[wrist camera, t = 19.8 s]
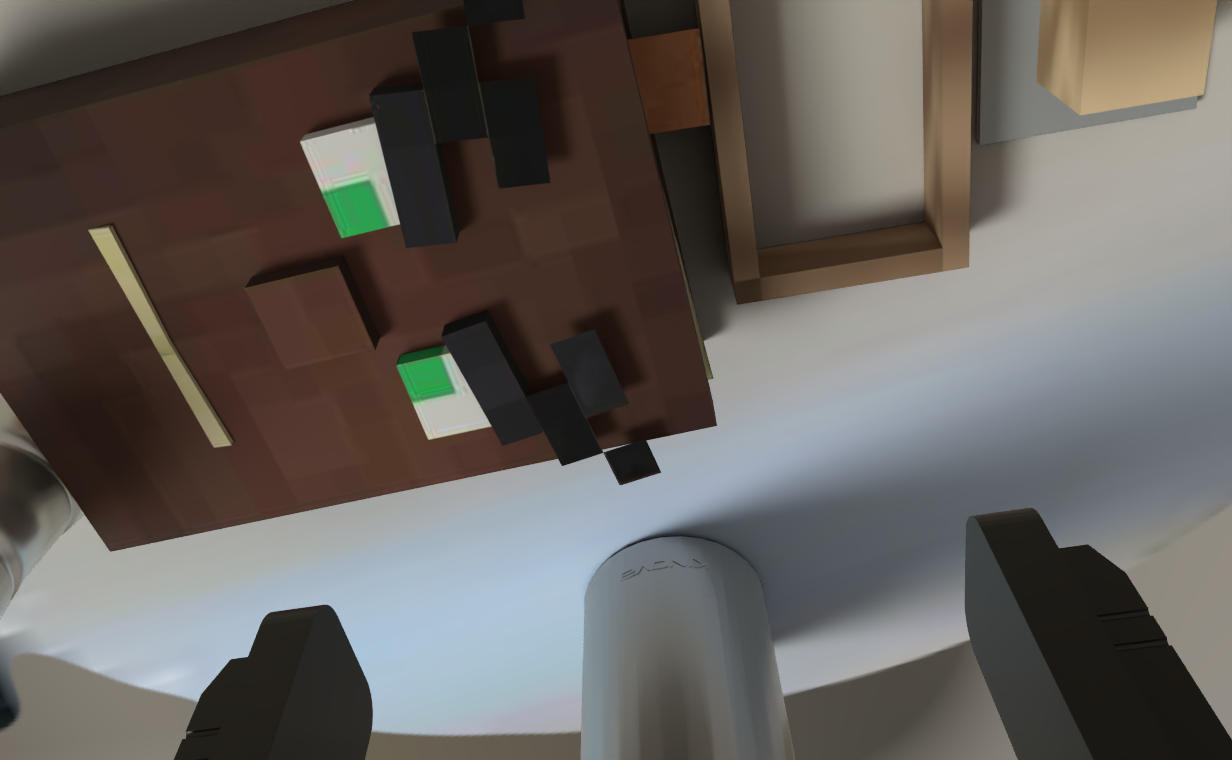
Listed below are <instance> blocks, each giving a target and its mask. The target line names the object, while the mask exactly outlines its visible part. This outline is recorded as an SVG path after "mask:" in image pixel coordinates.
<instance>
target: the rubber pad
mask: <svg viewBox="0 0 1232 760" xmlns="http://www.w3.org/2000/svg"><path fill="white" fill-rule="evenodd" d="M1040 5H1041V0H979V18H978V77H977V136H976V142H977V143H978V144H979V145H985V144H991V143H997V142H1003V141H1009V140H1015V139H1020V138H1026V137H1032V136H1038V135H1044V134H1050V133H1055V132H1061V131H1067V130H1073V129H1079V128H1085V127H1090V126H1096V125H1102V124H1108V123H1114V122H1120V121H1125V120H1131V119H1137V118H1143V117H1149V116H1155V115H1160V114H1166V113H1172V112H1178V111H1184V110H1190V109H1195V108H1196V106H1197V99H1198V96H1193V97H1187V98H1181V99H1175V100H1169V101H1163V102H1157V103H1151V104H1145V105H1140V106H1134V107H1128V108H1122V109H1116V110H1110V111H1104V112H1098V113H1092V114H1086V115H1079V114H1078V113H1076V112H1075V111H1074V110H1073V109H1071V108H1070V107H1069V106H1067V105H1066V104H1065V103H1064V102H1062V101H1061V100H1060V99H1058V98H1057V97H1056V96H1054V95H1053V94H1052V93H1051V92H1049V91H1048V90H1047V89H1045V88H1044V87H1043V86H1041V85H1040V84H1039V83H1038V82H1036V80H1037V61H1038V42H1039V24H1040Z"/></svg>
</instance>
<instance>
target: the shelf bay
mask: <svg viewBox="0 0 1232 760" xmlns="http://www.w3.org/2000/svg"><path fill="white" fill-rule="evenodd" d="M695 7H696V15H697V23H698V28H700V33H701V42H702V51H703V60H704V70H705V79H706V88H707V97H708V107H709V116H710V123H711V131H712V139H713V146H714V154H715V162H716V170H717V177H718V185H719V193H720V201H721V208H722V216H723V224H724V232H725V239H726V247H727V255H728V262H729V270H730V277H731V281H732V285H733V289H734V294H735V298H736V302H737V305H738V304H744V303H750V302H757V301H763V300H769V299H775V298H781V297H788V296H794V295H800V294H806V293H812V292H819V291H825V290H831V289H837V288H843V287H849V286H856V285H862V284H868V283H874V282H880V281H887V280H893V279H899V278H905V277H911V276H918V275H924V274H930V273H936V272H942V271H949V270H955V269H961V268H967V267H969V230H970V158H971V85H972V12H973V0H922V32H923V114H924V195H925V222H921V223H915V224H909V225H903V226H897V227H891V228H885V229H879V230H873V231H867V232H861V233H855V234H849V235H843V236H836V237H830V238H824V239H818V240H812V241H806V242H800V243H794V244H788V245H782V246H776V247H770V248H764V249H758V250H757V247H756V238H755V229H754V220H753V211H752V202H751V193H750V184H749V175H748V166H747V157H746V148H745V139H744V130H743V121H742V112H741V103H740V94H739V85H738V77H737V68H736V59H735V50H734V41H733V32H732V23H731V14H730V5H729V0H695Z"/></svg>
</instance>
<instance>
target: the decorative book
mask: <svg viewBox="0 0 1232 760" xmlns="http://www.w3.org/2000/svg"><path fill="white" fill-rule="evenodd" d="M705 125H710V116H709V107H708V97H707V88H706V79H705V70H704V60H703V51H702V42H701V33H700V28H696V29H690V30H684V31H678V32H672V33H666V34H660V35H654V36H648V37H642V38H636V39H632V37H631V32H630V28H629V24H628V19H627V15H626V11H625V7H624V2H623V0H354V1H350V2H347V3H343V4H339V5H336V6H332V7H328V8H324V9H321V10H317V11H313V12H310V13H306V14H302V15H299V16H295V17H291V18H288V19H284V20H280V21H277V22H273V23H269V24H266V25H262V26H258V27H255V28H251V29H247V30H243V31H240V32H236V33H232V34H229V35H225V36H221V37H218V38H214V39H210V40H207V41H203V42H199V43H196V44H192V45H188V46H185V47H181V48H177V49H174V50H170V51H166V52H162V53H159V54H155V55H151V56H148V57H144V58H140V59H137V60H133V61H129V62H126V63H122V64H118V65H115V66H111V67H107V68H104V69H100V70H96V71H93V72H89V73H85V74H81V75H78V76H74V77H70V78H67V79H63V80H59V81H56V82H52V83H48V84H45V85H41V86H37V87H34V88H30V89H26V90H23V91H19V92H15V93H12V94H8V95H4V96H0V394H1V395H2V396H3V398H4V399H5V401H6V402H7V404H8V405H9V406H10V408H11V409H12V411H13V412H14V414H15V415H16V417H17V418H18V419H19V421H20V422H21V424H22V425H23V427H24V428H25V430H26V431H27V432H28V434H29V435H30V437H31V438H32V440H33V441H34V442H35V444H36V445H37V447H38V448H39V450H40V451H41V453H42V454H43V455H44V457H45V458H46V460H47V461H48V463H49V464H50V465H51V467H52V468H53V470H54V471H55V473H56V474H57V476H58V477H59V478H60V480H61V481H62V483H63V484H64V486H65V487H66V489H67V490H68V491H69V493H70V494H71V496H72V497H73V499H74V500H75V501H76V503H77V504H78V506H79V507H80V509H81V510H82V512H83V513H84V514H85V516H86V517H87V519H88V520H89V522H90V523H91V524H92V526H93V527H94V529H95V530H96V532H97V533H98V535H99V536H100V537H101V539H102V540H103V542H104V543H105V545H106V546H107V548H108V549H109V550H110V552H111V551H116V550H121V549H126V548H130V547H135V546H140V545H145V544H150V543H154V542H159V541H164V540H169V539H174V538H179V537H183V536H188V535H193V534H198V533H203V532H207V531H212V530H217V529H222V528H227V527H232V526H236V525H241V524H246V523H251V522H256V521H260V520H265V519H270V518H275V517H280V516H284V515H289V514H294V513H299V512H304V511H309V510H313V509H318V508H323V507H328V506H333V505H337V504H342V503H347V502H352V501H357V500H362V499H366V498H371V497H376V496H381V495H386V494H390V493H395V492H400V491H405V490H410V489H415V488H419V487H424V486H429V485H434V484H439V483H443V482H448V481H453V480H458V479H463V478H467V477H472V476H477V475H482V474H487V473H492V472H496V471H501V470H506V469H511V468H516V467H520V466H525V465H530V464H535V463H540V462H545V461H549V460H554V459H559V461H560V463H561V465H562V466H564V465H567V464H570V463H573V462H576V461H579V460H582V459H586V458H589V457H592V456H595V455H598V454H601V453H603V451H602V449H607V448H612V447H617V446H622V445H626V444H629V445H626V446H623V447H620V448H616V449H613V450H610V451H607V452H604V455H605V457H606V459H607V461H608V463H609V465H610V467H611V469H612V471H613V473H614V475H615V477H616V479H617V481H618V483H619V485H623V484H626V483H629V482H633V481H636V480H639V479H642V478H645V477H648V476H651V475H655V474H658V473H661V471H660V469H659V467H658V465H657V463H656V460H655V458H654V456H653V454H652V452H651V450H650V448H649V445H648V443H647V441H646V440H650V439H655V438H660V437H665V436H670V435H675V434H679V433H684V432H689V431H694V430H699V429H703V428H708V427H713V426H717V423H716V417H715V412H714V406H713V400H712V396H711V392H710V387H709V383H708V380H709V379H713V376H712V372H711V368H710V364H709V360H708V357H707V353H706V349H705V345H704V342H703V338H702V334H701V330H700V327H699V323H698V319H697V315H696V311H695V307H694V302H693V298H692V294H691V289H690V285H689V281H688V277H687V272H686V268H685V264H684V259H683V255H682V251H681V247H680V242H679V238H678V234H677V229H676V225H675V221H674V217H673V212H672V208H671V204H670V199H669V195H668V191H667V187H666V182H665V178H664V174H663V169H662V165H661V161H660V157H659V152H658V148H657V144H656V139H655V135H654V133H661V132H667V131H673V130H680V129H686V128H692V127H699V126H705ZM631 443H632V444H631Z"/></svg>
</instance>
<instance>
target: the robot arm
mask: <svg viewBox="0 0 1232 760" xmlns="http://www.w3.org/2000/svg"><path fill="white" fill-rule="evenodd" d="M965 614H966V621H967V627H968V632H969V636H970V640H971V644H972V648H973V651H974V654H975V656H976V659H977V661H978V664H979V666H980V669H981V671H982V674H983V676H984V678H985V681H986V683H987V686H988V688H989V690H990V693H991V695H992V698H993V700H994V703H995V705H996V707H997V710H998V712H999V715H1000V717H1001V720H1002V722H1003V724H1004V727H1005V729H1006V732H1007V734H1008V737H1009V739H1010V741H1011V744H1012V746H1013V749H1014V751H1015V754H1016V756H1017V758H1018V760H1232V739H1231V738H1230V736H1229V735H1228V733H1227V732H1226V730H1225V728H1224V727H1223V725H1222V724H1221V722H1220V720H1219V719H1218V717H1217V716H1216V715H1215V713H1214V711H1213V710H1212V708H1211V706H1210V705H1209V703H1208V702H1207V700H1206V698H1205V697H1204V695H1203V694H1202V692H1201V691H1200V689H1199V687H1198V686H1197V685H1196V683H1195V681H1194V680H1193V678H1192V677H1191V675H1190V673H1189V672H1188V670H1187V669H1186V667H1185V665H1184V664H1183V662H1182V661H1181V659H1180V658H1179V656H1178V655H1177V653H1176V651H1175V650H1174V648H1173V647H1172V646H1169V645H1168V642H1167V637H1166V636H1165V634H1164V632H1163V631H1162V629H1161V628H1160V626H1159V625H1158V623H1157V622H1156V620H1155V619H1154V617H1153V616H1150V614H1149V612H1148V607H1147V606H1146V604H1145V603H1144V601H1143V600H1142V598H1141V596H1140V595H1139V593H1138V591H1137V590H1136V588H1135V587H1134V585H1133V584H1132V582H1131V580H1130V579H1129V577H1128V576H1127V574H1126V573H1125V572H1124V571H1122V570H1121V569H1120V568H1118V567H1117V566H1116V565H1115V564H1113V563H1112V562H1111V561H1109V560H1108V559H1107V558H1105V557H1104V556H1103V555H1101V554H1100V553H1099V552H1097V551H1096V550H1095V549H1093V548H1092V547H1091V546H1089V545H1081V546H1073V547H1066V548H1058V546H1057V545H1056V543H1055V541H1054V539H1053V538H1052V536H1051V534H1050V532H1049V531H1048V529H1047V527H1046V525H1045V524H1044V522H1043V520H1042V518H1041V517H1040V515H1039V514H1038V513H1037V511H1036V510H1034V509H1033V508H1026V509H1019V510H1012V511H1005V512H998V513H990V514H983V515H976V516H970V517H969V518H968V520H967V524H966V562H965ZM372 719H373V709H372V699H371V693H370V689H369V685H368V683H367V680H366V678H365V676H364V673H363V671H362V669H361V667H360V665H359V662H358V660H357V658H356V656H355V654H354V651H353V649H352V647H351V645H350V643H349V640H348V638H347V636H346V634H345V632H344V629H343V627H342V625H341V623H340V621H339V619H338V616H337V614H336V613H335V611H334V610H333V608H332V607H330V606H329V605H320V606H313V607H305V608H298V609H291V610H284V611H277V612H271V613H269V614H267V615H266V616H265V618H264V619H263V621H262V623H261V625H260V627H259V630H258V633H257V635H256V638H255V640H254V643H253V646H252V648H251V651H250V653H249V656H248V657H245V658H238V659H231V660H230V661H229V662H228V663H227V665H226V666H225V667H224V668H223V669H222V671H221V672H220V673H219V674H218V675H217V676H216V678H215V679H214V680H213V681H212V682H211V684H210V685H209V686H208V687H207V688H206V690H205V691H204V692H203V693H202V694H201V697H200V699H199V701H198V704H197V706H196V709H195V711H194V713H193V716H192V718H191V720H190V723H189V725H188V727H187V730H186V739H183V740H182V742H181V744H180V746H179V749H178V751H177V753H176V756H175V758H174V760H365V756H366V752H367V748H368V744H369V739H370V735H371V730H372ZM581 760H795V757H794V752H793V746H792V742H791V736H790V731H789V726H788V720H787V715H786V710H785V704H784V699H783V694H782V689H781V683H780V678H779V673H778V668H777V663H776V657H775V651H774V645H773V640H772V635H771V630H770V625H769V619H768V614H767V609H766V604H765V598H764V593H763V588H762V585H761V582H760V580H759V578H758V575H757V573H756V572H755V571H754V569H753V568H752V567H751V566H750V564H749V563H748V562H747V561H746V560H745V559H744V558H742V557H741V556H740V555H738V554H737V553H736V552H735V551H733V550H731V549H729V548H727V547H725V546H723V545H721V544H718V543H715V542H712V541H708V540H704V539H701V538H692V537H682V536H677V537H660V538H656V539H652V540H647V541H643V542H640V543H637V544H635V545H632V546H630V547H628V548H625V549H623V550H622V551H620V552H618V553H617V554H615V555H614V556H612V557H611V558H609V559H608V560H607V561H606V562H605V563H604V564H603V565H602V566H601V567H600V568H599V569H598V570H597V571H596V573H595V574H594V576H593V578H592V579H591V581H590V582H589V585H588V588H587V591H586V595H585V610H584V647H583V674H582V722H581Z"/></svg>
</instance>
